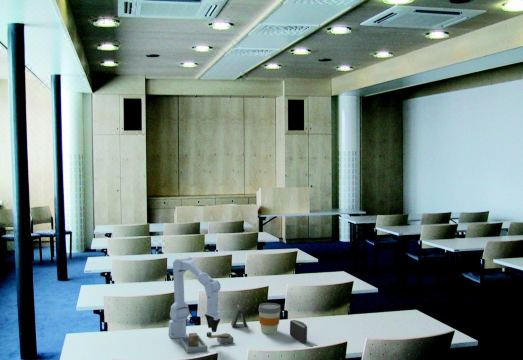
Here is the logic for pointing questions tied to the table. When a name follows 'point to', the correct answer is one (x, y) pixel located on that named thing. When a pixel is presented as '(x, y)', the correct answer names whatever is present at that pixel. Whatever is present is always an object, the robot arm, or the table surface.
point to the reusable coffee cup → (269, 317)
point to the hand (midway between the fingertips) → (212, 329)
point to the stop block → (193, 339)
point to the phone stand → (237, 318)
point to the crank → (217, 335)
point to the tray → (188, 349)
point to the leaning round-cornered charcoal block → (298, 331)
